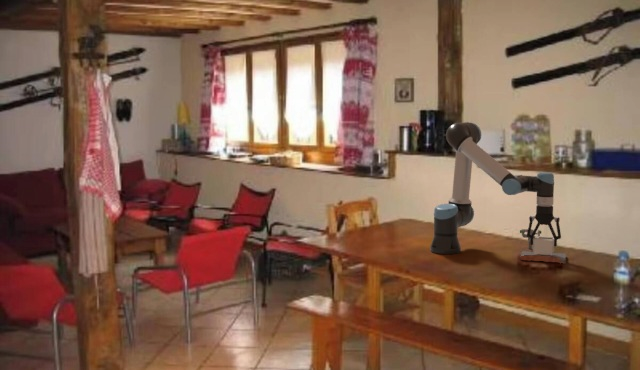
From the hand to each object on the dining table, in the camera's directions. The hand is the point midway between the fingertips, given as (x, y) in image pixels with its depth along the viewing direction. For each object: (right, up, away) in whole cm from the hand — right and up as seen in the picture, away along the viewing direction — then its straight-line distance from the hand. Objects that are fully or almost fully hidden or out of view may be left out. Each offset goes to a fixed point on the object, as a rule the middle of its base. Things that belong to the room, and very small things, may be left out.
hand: (543, 252), depth 306 cm
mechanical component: (0, -1, +20) cm, 21 cm away
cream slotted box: (0, 0, 0) cm, 0 cm away
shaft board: (0, -3, 0) cm, 3 cm away
